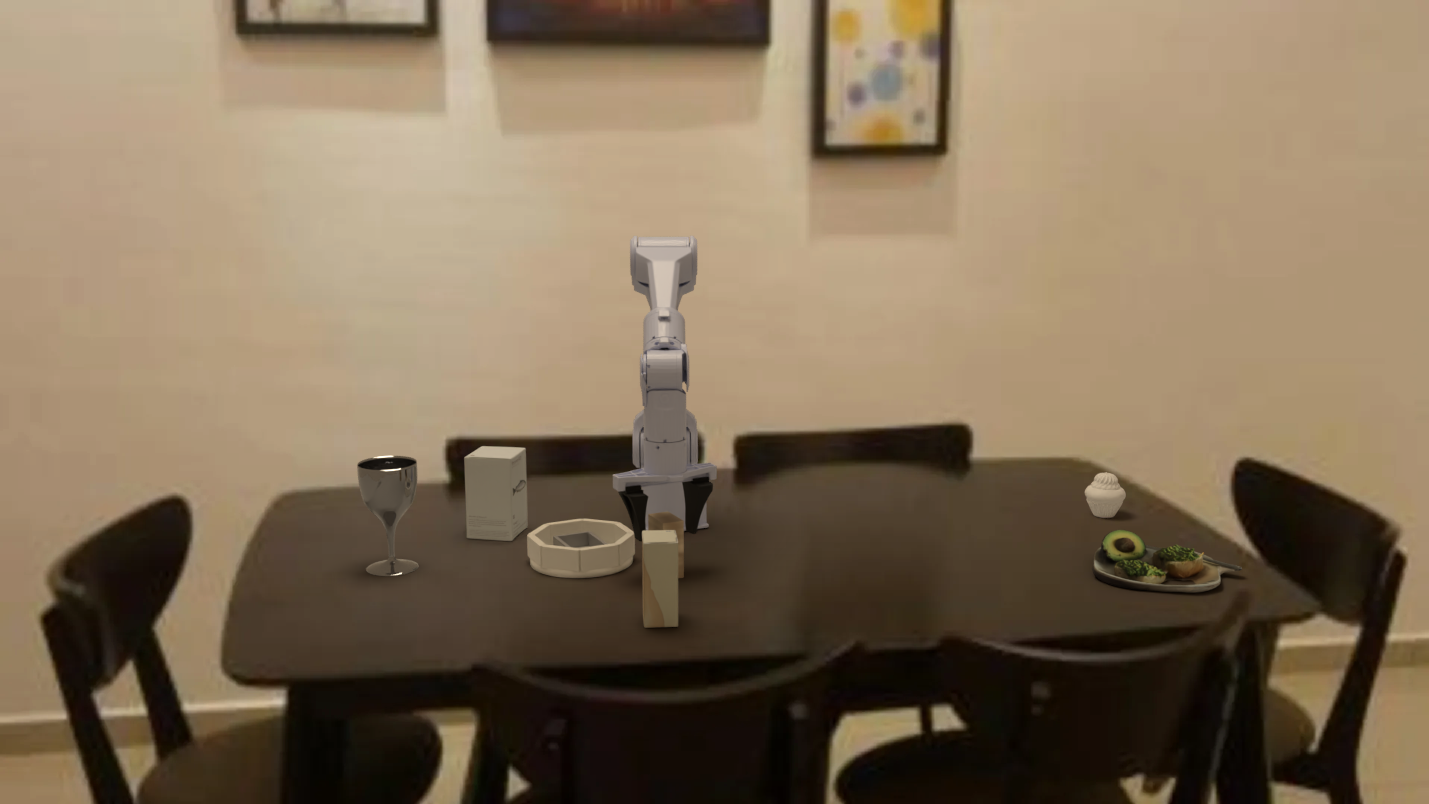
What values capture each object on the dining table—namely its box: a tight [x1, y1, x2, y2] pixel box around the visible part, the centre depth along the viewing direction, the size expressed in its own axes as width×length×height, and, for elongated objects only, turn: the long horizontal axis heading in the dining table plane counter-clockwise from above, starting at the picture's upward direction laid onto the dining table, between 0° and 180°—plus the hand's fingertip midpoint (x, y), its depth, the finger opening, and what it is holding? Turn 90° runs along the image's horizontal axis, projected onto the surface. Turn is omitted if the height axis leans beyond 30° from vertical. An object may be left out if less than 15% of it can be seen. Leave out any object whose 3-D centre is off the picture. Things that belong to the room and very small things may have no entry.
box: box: [641, 530, 679, 629], centre depth 169 cm, size 5×4×11 cm
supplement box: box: [463, 445, 529, 542], centre depth 205 cm, size 7×7×13 cm
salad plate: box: [1091, 529, 1243, 593], centre depth 188 cm, size 19×18×5 cm
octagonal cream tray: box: [526, 518, 636, 579], centre depth 193 cm, size 14×14×4 cm
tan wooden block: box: [648, 511, 685, 579], centre depth 187 cm, size 3×5×8 cm, turn 26°
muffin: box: [1084, 471, 1127, 519], centre depth 215 cm, size 6×6×7 cm
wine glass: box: [356, 455, 420, 577], centre depth 189 cm, size 8×8×15 cm
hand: (665, 535), depth 187 cm, fingers open, 7 cm apart
